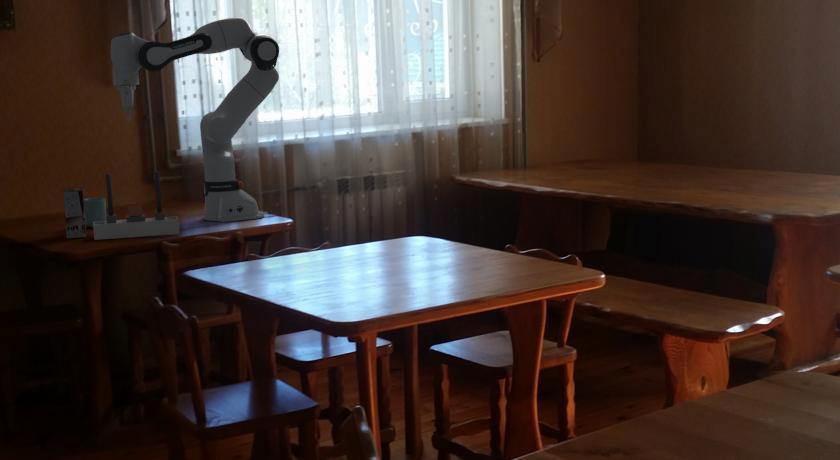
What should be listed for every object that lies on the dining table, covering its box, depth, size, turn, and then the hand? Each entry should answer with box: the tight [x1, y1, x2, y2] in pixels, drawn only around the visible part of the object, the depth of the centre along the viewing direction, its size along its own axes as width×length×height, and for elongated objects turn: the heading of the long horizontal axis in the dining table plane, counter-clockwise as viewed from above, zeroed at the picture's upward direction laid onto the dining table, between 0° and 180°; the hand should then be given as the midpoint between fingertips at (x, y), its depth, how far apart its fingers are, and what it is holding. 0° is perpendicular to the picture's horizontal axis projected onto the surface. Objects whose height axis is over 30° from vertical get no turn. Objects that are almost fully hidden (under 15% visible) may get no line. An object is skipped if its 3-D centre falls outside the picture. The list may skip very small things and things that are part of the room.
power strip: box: [92, 213, 180, 241], centre depth 361 cm, size 28×7×7 cm, turn 105°
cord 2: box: [153, 171, 166, 220], centre depth 361 cm, size 3×4×16 cm
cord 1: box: [105, 173, 117, 224], centre depth 357 cm, size 3×4×16 cm
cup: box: [84, 197, 107, 228], centre depth 378 cm, size 8×8×10 cm
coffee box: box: [62, 187, 87, 239], centre depth 361 cm, size 9×6×16 cm
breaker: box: [128, 204, 143, 216], centre depth 360 cm, size 4×1×3 cm, turn 105°
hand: (128, 119), depth 371 cm, fingers open, 8 cm apart
